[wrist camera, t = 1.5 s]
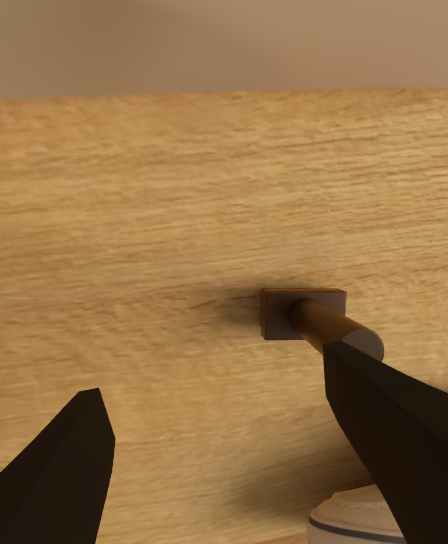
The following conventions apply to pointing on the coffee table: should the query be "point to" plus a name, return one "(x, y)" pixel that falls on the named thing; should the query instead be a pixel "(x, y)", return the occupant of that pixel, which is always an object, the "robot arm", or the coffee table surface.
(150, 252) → the coffee table surface
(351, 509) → the boat shoe
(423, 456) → the robot arm
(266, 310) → the brown peg stand
